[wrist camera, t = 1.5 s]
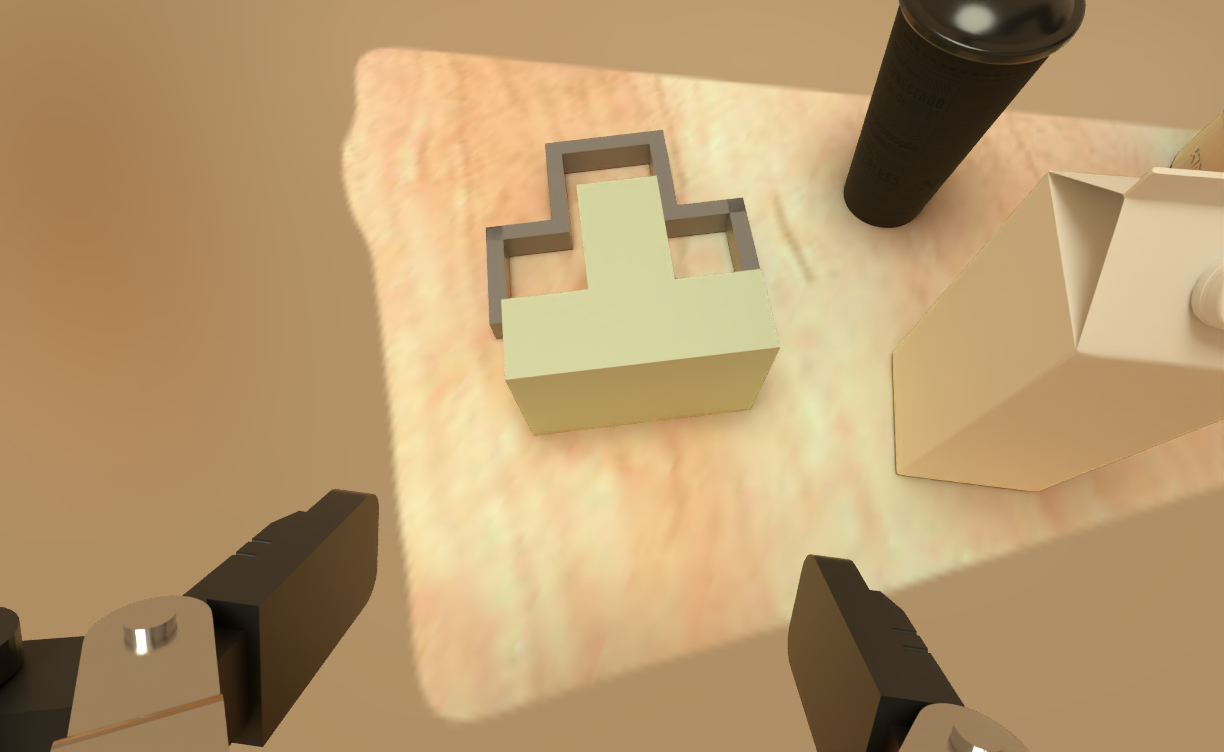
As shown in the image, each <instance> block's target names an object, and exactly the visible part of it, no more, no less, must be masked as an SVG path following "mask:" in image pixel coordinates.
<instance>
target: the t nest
mask: <svg viewBox="0 0 1224 752" xmlns="http://www.w3.org/2000/svg"><path fill="white" fill-rule="evenodd" d="M545 149H546V161H547V172H548V183H549V194H550V205H551V216H552V220H548V221H539V222H531V223H522V224H514V225H505V226H497V227H488V228H486V244H487V269H488V294H489V319H490V326H491V328H492V330H493V332H494V334H495V337H496V339H497V338H503V327H502V307H501V300H502V299H510V298H511V286H510V268H509V257H510V256H519V255H527V254H536V253H544V252H553V251H561V250H570V249H573V247H572V237H571V228H570V218H569V209H568V199H567V189H566V180H565V173H573V172H582V171H590V170H599V169H607V168H616V167H625V166H633V165H642V164H649V166H650V172H651V176H656V175H657V181H658V186H659V192H660V198H661V203H662V209H663V215H664V220H665V226H666V232H667V237H668V238H672V237H680V236H689V235H697V234H706V233H714V232H723V231H726V235H727V239H728V244H729V248H730V253H731V257H732V262H733V266H734V271H735V272H739V271H747V270H756V269H760V267H759V263H758V258H757V254H756V250H755V246H754V242H753V238H752V234H751V229H750V225H749V221H748V217H747V213H746V209H745V205H744V200H743V198H736V199H727V200H718V201H710V202H701V203H693V204H684V205H677V202H676V197H675V192H674V186H673V181H672V176H671V171H670V165H669V160H668V155H667V149H666V144H665V139H664V134H663V130H658V131H650V132H641V133H632V134H624V135H615V136H607V137H598V138H589V139H581V140H572V141H564V142H555V143H546V144H545Z"/></svg>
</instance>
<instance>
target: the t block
mask: <svg viewBox="0 0 1224 752" xmlns="http://www.w3.org/2000/svg"><path fill="white" fill-rule="evenodd" d="M576 187H577V195H578V204H579V213H580V222H581V231H582V240H583V249H584V258H585V266H586V275H587V284H588V289H586V290H578V291H570V292H561V293H553V294H544V295H536V296H527V297H519V298H510V299H502V300H501V307H502V327H503V347H504V366H505V380H506V382H507V384H508V386H509V388H510V390H511V392H512V394H513V396H514V398H515V400H516V402H517V404H518V406H519V408H520V410H521V412H522V414H523V416H524V418H525V420H526V422H527V423H528V425H529V427H530V429H531V431H532V433H533V435H541V434H550V433H558V432H566V431H575V430H583V429H592V428H600V427H608V426H617V425H625V424H633V423H642V422H650V421H658V420H667V419H675V418H683V417H692V416H700V415H709V414H717V413H725V412H734V411H742V410H750V409H751V407H752V405H753V403H754V401H755V399H756V397H757V394H758V392H759V390H760V388H761V386H762V384H763V382H764V380H765V378H766V376H767V374H768V372H769V369H770V367H771V365H772V363H773V361H774V359H775V357H776V355H777V353H778V351H779V349H780V344H779V340H778V336H777V332H776V327H775V323H774V319H773V315H772V311H771V307H770V302H769V298H768V294H767V290H766V286H765V282H764V278H763V273H762V269H756V270H747V271H739V272H730V273H722V274H713V275H705V276H697V277H688V278H680V279H675V277H674V271H673V266H672V260H671V254H670V249H669V243H668V237H667V232H666V226H665V220H664V215H663V209H662V203H661V198H660V192H659V186H658V181H657V175H656V176H648V177H639V178H631V179H622V180H613V181H605V182H596V183H588V184H579V185H576Z"/></svg>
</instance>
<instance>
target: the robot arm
mask: <svg viewBox="0 0 1224 752" xmlns="http://www.w3.org/2000/svg"><path fill="white" fill-rule="evenodd" d="M1172 168H1174V169H1187V170H1200V171H1212V172H1224V111H1223V112H1222V113H1221V114H1220V115H1219V116H1217V117H1216V118H1215V119H1214V120H1213V121H1212V122H1211V123H1210V124H1209V125H1208V126H1207V127H1205V128H1204V129H1203V130H1202V131H1201V132H1200V133H1199V134H1198V135H1197V136H1196V137H1195V138H1194V139H1192V140H1191V141H1190V142H1189V143H1188V144H1187V145H1186V146H1185V147H1184V148H1183V149H1182V150H1181V151H1180V152H1179V153H1178V154H1177V156H1176V158H1175V160H1174V162H1173V164H1172ZM378 516H379V504H378V499H377V497H376V495H374V494H369V493H361V492H354V491H347V490H340V489H333V490H331V491H330V492H329V493H328V494H326V495H325V496H324V497H323V498H322V499H321V500H320V501H319V502H317V503H316V504H315V505H314V506H313V507H311V508H310V509H309V510H308V511H307V512H303V511H298V512H296V513H293V514H291V515H289V516H286V517H284V518H282V519H279V520H277V521H275V522H272V523H271V524H270V525H268V526H267V527H266V528H265V529H263V530H262V531H261V532H260V533H259V534H257V535H256V536H255V537H254V538H252V542H248V543H246V544H245V545H244V546H243V547H242V548H240V549H239V550H238V551H237V552H236V555H232V556H230V557H229V558H228V559H227V560H226V561H224V562H223V563H222V564H221V565H219V566H218V567H217V568H216V569H215V570H213V571H212V572H211V573H210V574H208V575H207V576H206V577H205V578H204V579H203V580H201V581H200V582H199V583H197V584H196V585H195V586H194V587H193V588H192V589H190V590H189V591H188V592H186V593H185V594H184V595H183V596H164V597H156V598H151V599H146V600H142V601H139V602H136V603H133V604H129V605H127V606H124V607H122V608H120V609H118V610H116V611H114V612H112V613H110V614H108V615H107V616H105V617H104V618H102V619H101V620H99V621H98V622H97V623H95V624H94V626H92V628H90V630H89V631H88V632H87V634H86V635H85V636H81V637H68V638H55V639H41V640H28V641H22V636H21V629H20V622H19V617H18V616H17V614H16V613H15V612H13V611H12V610H10V609H7V608H4V607H0V752H229V746H230V744H231V743H239V744H246V745H252V746H259V747H263V746H264V745H265V743H266V742H267V740H268V739H269V738H270V736H271V735H272V734H273V732H274V731H275V729H276V728H277V726H278V725H279V724H280V723H281V721H282V720H283V718H284V717H285V715H286V714H287V713H288V711H289V710H290V709H291V707H292V706H293V705H294V703H295V702H296V700H297V699H298V698H299V696H300V695H301V693H302V692H303V691H304V689H305V688H306V687H307V685H308V684H309V683H310V681H311V680H312V678H313V677H314V676H315V674H316V673H317V671H318V670H319V668H320V667H321V666H322V665H323V663H324V662H325V660H326V659H327V658H328V656H329V655H330V653H331V652H332V651H333V649H334V648H335V646H336V645H337V644H338V642H339V641H340V640H341V638H342V637H343V636H344V634H345V633H346V631H347V630H348V629H349V627H350V626H351V625H352V623H353V622H354V620H355V619H356V617H357V616H358V615H359V613H360V612H361V611H362V609H363V608H364V606H365V605H366V604H367V602H368V600H369V598H370V596H371V593H372V590H373V587H374V584H375V580H376V574H377V555H378V553H377V552H378V518H379V517H378ZM788 656H789V663H790V666H791V670H792V672H793V676H794V679H795V682H796V685H797V689H798V692H799V695H800V698H801V701H802V705H803V708H804V711H805V714H806V717H807V721H808V724H809V727H810V730H811V733H812V736H813V739H814V743H815V746H816V749H817V752H1029V751H1028V749H1027V748H1026V747H1025V746H1024V745H1023V743H1022V742H1021V741H1020V740H1019V739H1017V738H1016V736H1014V735H1013V734H1012V733H1011V732H1010V731H1008V730H1007V729H1006V728H1005V727H1003V726H1002V725H1000V724H999V723H997V722H996V721H994V720H992V719H991V718H989V717H987V716H985V715H983V714H981V713H979V712H977V711H974V710H971V709H969V708H966V707H965V706H964V704H963V703H962V701H961V700H960V698H959V697H958V695H957V694H956V692H955V690H954V689H953V687H952V686H951V684H950V683H949V681H948V680H947V678H946V676H945V675H944V673H943V672H942V670H941V669H940V667H939V666H938V664H937V662H936V661H935V659H934V658H933V656H932V655H931V653H928V649H927V647H926V645H925V644H924V642H923V641H922V639H921V638H920V636H918V635H917V634H916V630H915V628H914V627H913V625H912V624H911V622H910V620H909V619H908V617H907V616H906V614H905V613H904V611H903V610H902V609H900V608H899V607H898V606H897V605H895V603H893V602H892V601H891V600H890V599H889V598H887V597H886V596H885V595H884V594H883V593H881V592H880V591H873V590H869V588H868V586H867V585H866V583H865V581H864V579H863V578H862V576H861V574H860V573H859V571H858V569H857V568H856V566H855V564H854V563H853V561H851V560H848V559H841V558H834V557H826V556H819V555H812V554H810V555H808V556H807V557H806V559H805V561H804V564H803V567H802V572H801V576H800V581H799V585H798V590H797V595H796V599H795V604H794V608H793V613H792V617H791V622H790V627H789V633H788Z"/></svg>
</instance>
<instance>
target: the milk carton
mask: <svg viewBox="0 0 1224 752" xmlns="http://www.w3.org/2000/svg"><path fill="white" fill-rule="evenodd" d="M893 382H894V412H895V443H896V471H897V473H898V474H900V475H906V476H913V477H921V478H929V479H937V480H945V481H953V482H961V483H969V484H977V485H985V486H993V487H1001V488H1009V489H1017V490H1025V491H1040V490H1043V489H1045V488H1048V487H1051V486H1053V485H1056V484H1058V483H1061V482H1063V481H1066V480H1069V479H1071V478H1074V477H1076V476H1079V475H1081V474H1084V473H1087V472H1089V471H1092V470H1094V469H1097V468H1099V467H1102V466H1105V465H1107V464H1110V463H1112V462H1115V461H1117V460H1120V459H1123V458H1125V457H1128V456H1130V455H1133V454H1135V453H1138V452H1141V451H1143V450H1146V449H1148V448H1151V447H1153V446H1156V445H1159V444H1161V443H1164V442H1166V441H1169V440H1171V439H1174V438H1177V437H1179V436H1182V435H1184V434H1187V433H1189V432H1192V431H1195V430H1197V429H1200V428H1202V427H1205V426H1207V425H1210V424H1213V423H1215V422H1218V421H1220V420H1223V419H1224V172H1212V171H1200V170H1187V169H1174V168H1162V167H1153V168H1152V169H1150V170H1149V171H1148V172H1147V173H1146V174H1145V175H1144V176H1143V177H1142V178H1136V177H1124V176H1111V175H1099V174H1086V173H1073V172H1060V171H1048V172H1047V174H1046V175H1045V176H1044V177H1043V178H1042V179H1041V181H1040V182H1039V183H1038V184H1037V185H1036V186H1035V188H1034V189H1033V190H1032V191H1031V192H1030V193H1029V195H1028V196H1027V197H1026V198H1025V199H1024V200H1023V202H1022V203H1021V204H1020V205H1019V206H1018V207H1017V209H1016V210H1015V211H1014V212H1013V213H1012V214H1011V215H1010V217H1009V218H1008V219H1007V220H1006V221H1005V222H1004V224H1003V225H1002V226H1001V227H1000V228H999V229H998V231H997V232H996V233H995V234H994V235H993V236H992V238H991V239H990V240H989V241H988V242H987V243H986V245H985V246H984V247H983V248H982V249H981V250H980V251H979V253H978V254H977V255H976V256H975V257H974V258H973V260H972V261H971V262H970V263H969V264H968V265H967V267H966V268H965V269H964V270H963V271H962V272H961V274H960V275H959V276H958V277H957V278H956V279H955V281H954V282H953V283H952V284H951V285H950V286H949V287H948V289H947V290H946V291H945V292H944V293H943V294H942V296H941V297H940V298H939V299H938V300H937V301H936V303H935V304H934V305H933V306H932V307H931V308H930V310H929V311H928V312H927V313H926V314H925V315H924V317H923V318H922V319H921V320H920V321H919V322H918V323H917V325H916V326H915V327H914V328H913V329H912V330H911V332H910V333H909V334H908V335H907V336H906V337H905V339H904V340H903V341H902V342H901V343H900V344H899V346H898V347H897V348H896V349H895V350H894V352H893Z"/></svg>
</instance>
